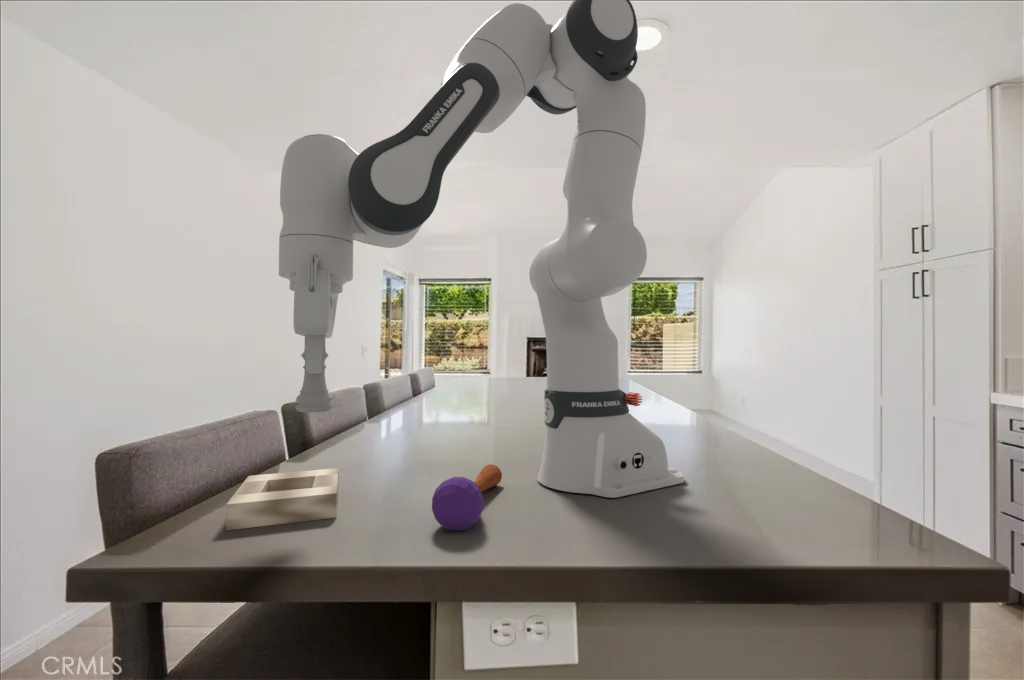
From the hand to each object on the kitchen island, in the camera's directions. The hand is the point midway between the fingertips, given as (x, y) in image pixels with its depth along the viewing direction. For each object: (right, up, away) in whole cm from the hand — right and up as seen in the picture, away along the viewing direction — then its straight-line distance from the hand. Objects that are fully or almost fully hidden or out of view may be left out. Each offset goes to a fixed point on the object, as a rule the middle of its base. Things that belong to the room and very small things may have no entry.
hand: (315, 372), depth 61 cm
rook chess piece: (0, -5, 0) cm, 5 cm away
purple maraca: (+20, -18, +2) cm, 27 cm away
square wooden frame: (-4, -18, +2) cm, 19 cm away
